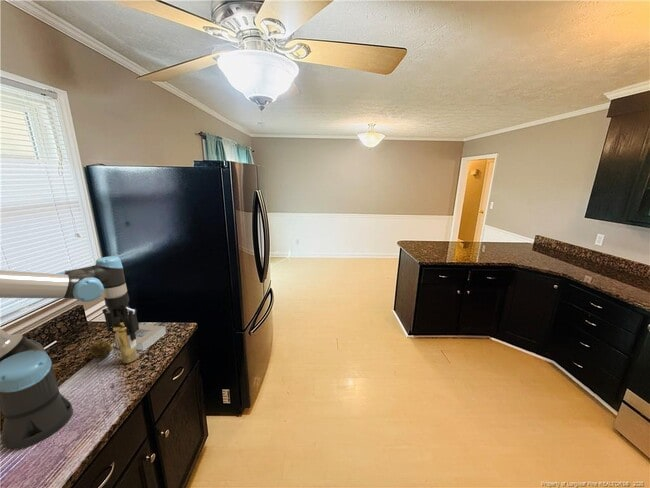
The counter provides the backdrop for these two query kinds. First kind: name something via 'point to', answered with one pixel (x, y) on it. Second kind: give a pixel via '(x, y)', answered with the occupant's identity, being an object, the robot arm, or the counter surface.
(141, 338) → the housing
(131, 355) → the gold tall flared cylinder
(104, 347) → the potato
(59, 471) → the counter surface
